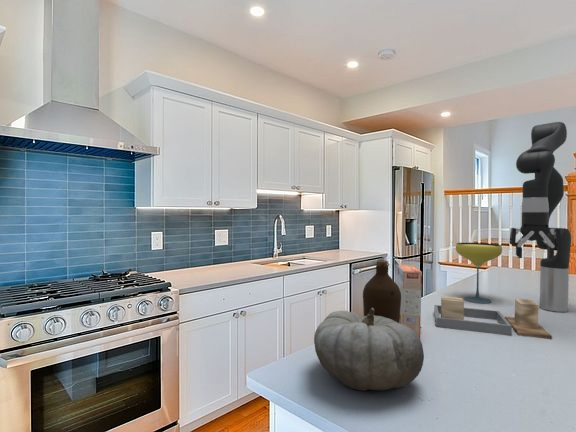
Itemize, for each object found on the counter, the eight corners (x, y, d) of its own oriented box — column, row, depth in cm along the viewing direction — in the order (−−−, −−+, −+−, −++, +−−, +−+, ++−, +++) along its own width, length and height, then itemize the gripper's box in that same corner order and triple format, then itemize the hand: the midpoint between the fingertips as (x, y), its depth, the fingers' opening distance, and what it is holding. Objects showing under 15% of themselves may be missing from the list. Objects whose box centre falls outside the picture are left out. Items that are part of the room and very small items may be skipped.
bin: (434, 312, 135) (434, 304, 135) (499, 319, 127) (499, 311, 127) (436, 326, 118) (436, 317, 118) (511, 335, 110) (511, 326, 110)
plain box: (440, 318, 128) (441, 296, 128) (461, 320, 126) (462, 298, 126) (441, 321, 123) (442, 299, 123) (463, 324, 121) (463, 301, 121)
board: (504, 318, 127) (504, 316, 127) (533, 321, 124) (533, 319, 124) (517, 335, 111) (518, 332, 111) (551, 339, 107) (551, 335, 107)
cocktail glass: (449, 300, 153) (450, 244, 153) (460, 293, 167) (461, 241, 167) (496, 308, 142) (497, 247, 141) (504, 300, 155) (505, 244, 155)
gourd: (345, 408, 64) (346, 311, 67) (293, 372, 86) (296, 301, 90) (448, 397, 73) (445, 312, 76) (376, 367, 95) (376, 303, 99)
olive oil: (406, 347, 100) (407, 260, 99) (390, 358, 92) (392, 264, 91) (372, 338, 107) (373, 257, 106) (355, 348, 99) (356, 260, 98)
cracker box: (421, 339, 106) (422, 271, 106) (401, 337, 107) (402, 270, 107) (414, 324, 120) (415, 264, 120) (396, 323, 121) (397, 263, 121)
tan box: (520, 327, 115) (520, 303, 115) (514, 321, 122) (514, 298, 121) (538, 329, 113) (539, 305, 113) (532, 323, 120) (532, 300, 120)
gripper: (555, 210, 119) (555, 257, 119) (507, 211, 124) (507, 256, 124) (564, 211, 112) (564, 260, 112) (513, 211, 117) (513, 259, 117)
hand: (534, 258), depth 118 cm, fingers open, 8 cm apart
